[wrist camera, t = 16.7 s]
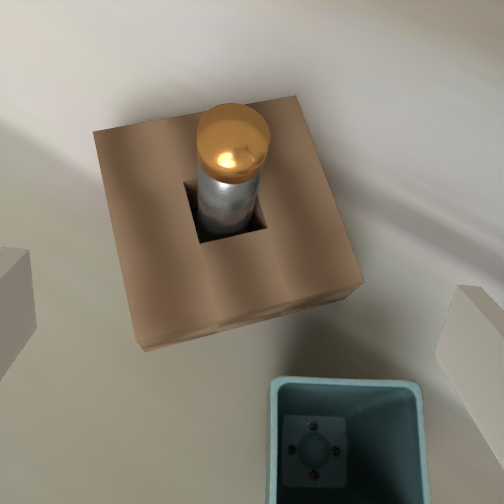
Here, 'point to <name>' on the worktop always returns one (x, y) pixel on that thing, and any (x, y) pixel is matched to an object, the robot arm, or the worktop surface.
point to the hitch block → (227, 249)
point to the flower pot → (346, 442)
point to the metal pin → (229, 169)
